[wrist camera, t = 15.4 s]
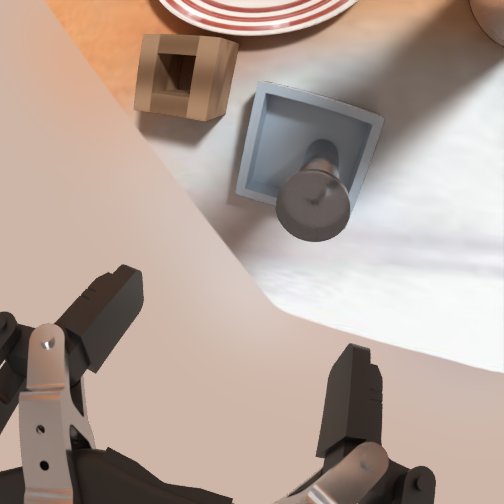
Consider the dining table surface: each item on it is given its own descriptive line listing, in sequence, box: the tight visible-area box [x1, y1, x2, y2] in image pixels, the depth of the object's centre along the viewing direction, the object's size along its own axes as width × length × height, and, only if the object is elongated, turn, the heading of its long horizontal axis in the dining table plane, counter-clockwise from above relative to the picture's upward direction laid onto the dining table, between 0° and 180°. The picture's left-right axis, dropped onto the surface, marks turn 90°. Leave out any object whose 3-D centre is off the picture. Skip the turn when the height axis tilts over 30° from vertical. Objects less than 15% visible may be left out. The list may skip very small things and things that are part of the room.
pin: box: [276, 139, 350, 242], centre depth 25 cm, size 5×5×15 cm
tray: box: [235, 81, 385, 229], centre depth 31 cm, size 13×13×4 cm
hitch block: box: [134, 34, 240, 122], centre depth 28 cm, size 9×9×6 cm
